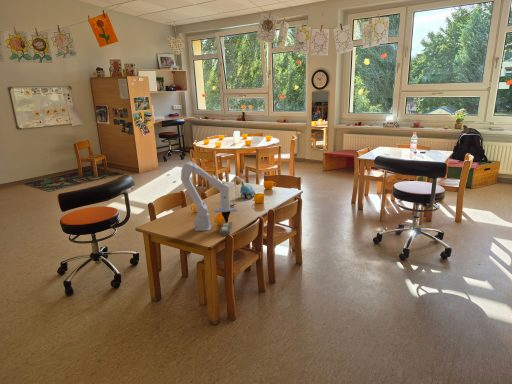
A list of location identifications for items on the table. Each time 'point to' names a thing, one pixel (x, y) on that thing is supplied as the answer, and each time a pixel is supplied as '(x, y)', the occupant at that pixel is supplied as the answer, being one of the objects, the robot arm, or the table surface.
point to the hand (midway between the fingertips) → (226, 222)
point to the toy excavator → (245, 189)
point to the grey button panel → (226, 231)
